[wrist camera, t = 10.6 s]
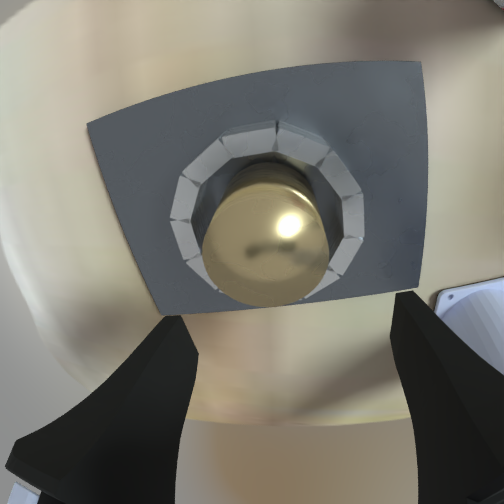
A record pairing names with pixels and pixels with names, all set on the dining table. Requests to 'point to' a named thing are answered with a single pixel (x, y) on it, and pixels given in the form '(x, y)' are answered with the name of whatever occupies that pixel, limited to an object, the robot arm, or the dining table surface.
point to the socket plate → (283, 152)
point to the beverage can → (500, 3)
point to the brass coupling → (266, 238)
